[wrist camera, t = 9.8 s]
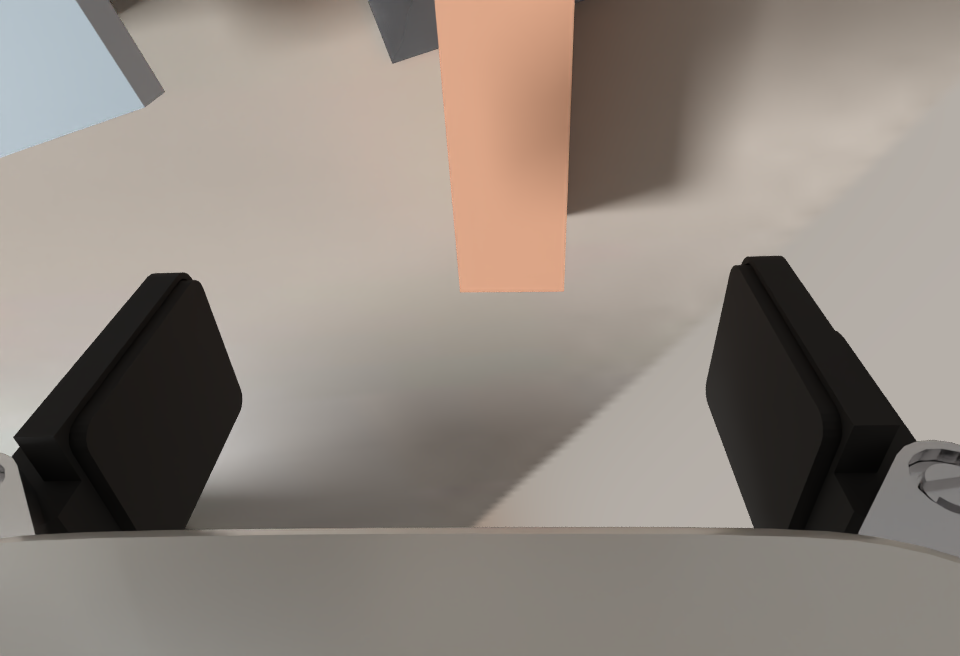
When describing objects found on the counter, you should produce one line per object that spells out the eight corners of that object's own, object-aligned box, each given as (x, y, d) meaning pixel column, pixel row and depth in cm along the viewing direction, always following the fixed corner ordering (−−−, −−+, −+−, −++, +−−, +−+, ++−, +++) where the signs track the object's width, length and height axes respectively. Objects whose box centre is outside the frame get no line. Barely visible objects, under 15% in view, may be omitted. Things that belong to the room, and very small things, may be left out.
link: (341, -406, 13) (281, -477, 10) (666, -438, 12) (712, -524, 9) (420, 224, 22) (402, 292, 19) (610, 221, 21) (623, 290, 18)
